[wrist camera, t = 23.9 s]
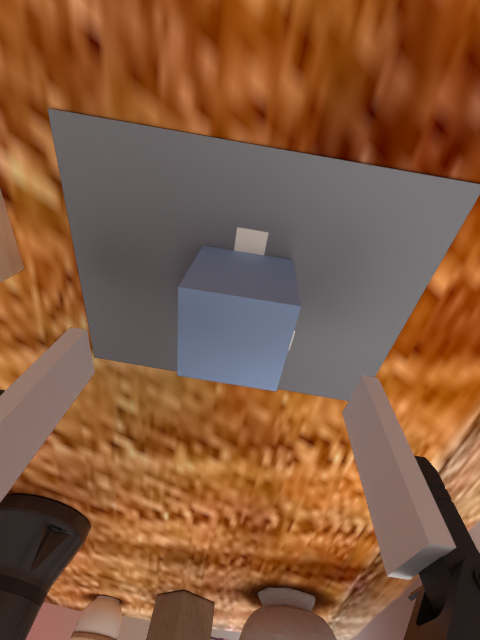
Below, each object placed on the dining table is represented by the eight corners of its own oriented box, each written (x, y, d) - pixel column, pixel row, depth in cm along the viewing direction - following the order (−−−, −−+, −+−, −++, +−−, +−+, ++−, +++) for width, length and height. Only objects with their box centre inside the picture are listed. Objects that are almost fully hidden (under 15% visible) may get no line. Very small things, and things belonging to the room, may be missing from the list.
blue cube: (198, 320, 22) (177, 375, 17) (202, 245, 19) (177, 286, 14) (275, 332, 22) (276, 391, 17) (293, 259, 19) (301, 306, 14)
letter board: (96, 354, 26) (94, 357, 25) (52, 108, 16) (46, 108, 15) (358, 399, 26) (359, 403, 25) (480, 184, 16) (485, 185, 15)
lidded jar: (121, 607, 78) (104, 660, 70) (83, 597, 76) (61, 651, 68) (134, 600, 73) (117, 657, 65) (93, 589, 70) (71, 646, 62)
